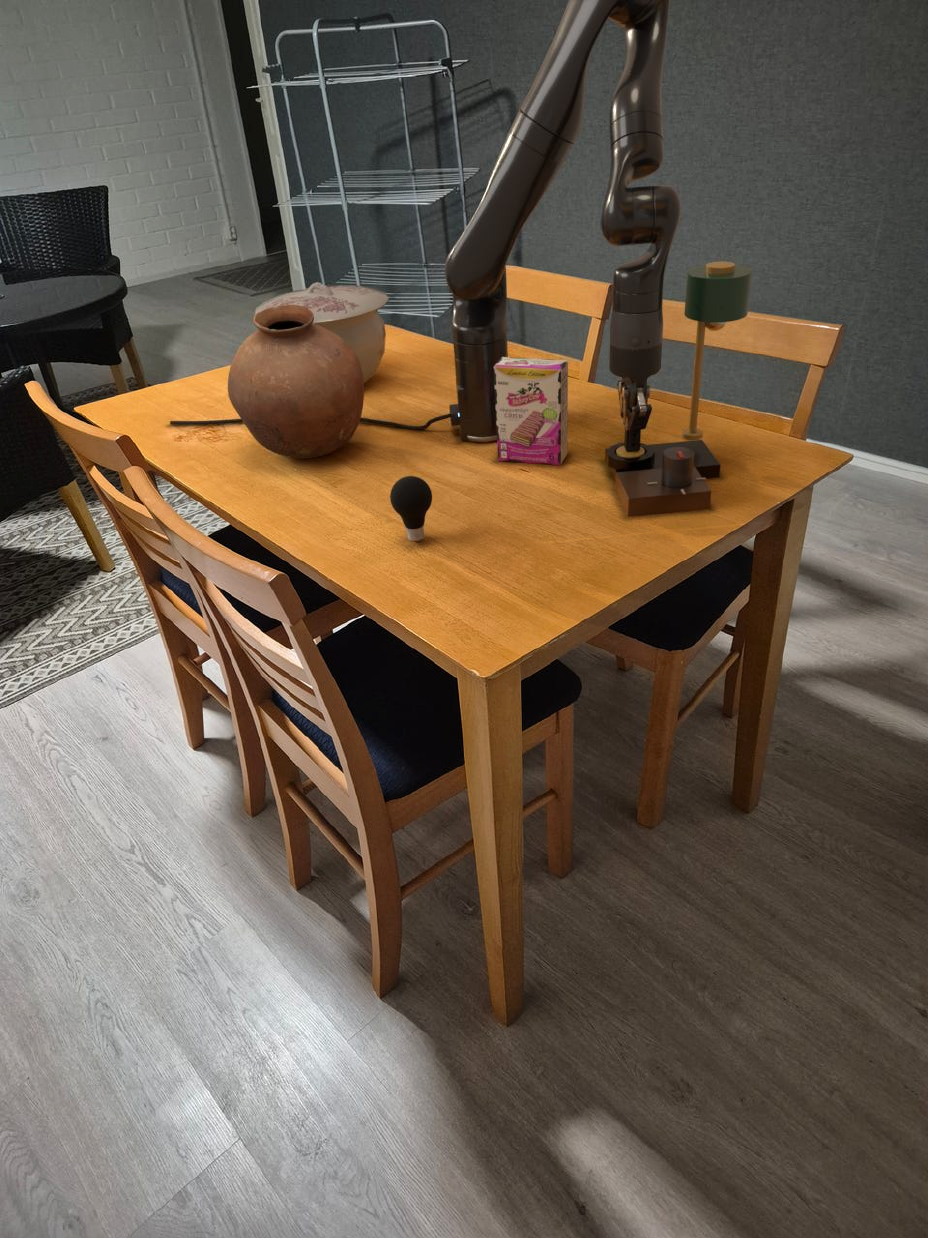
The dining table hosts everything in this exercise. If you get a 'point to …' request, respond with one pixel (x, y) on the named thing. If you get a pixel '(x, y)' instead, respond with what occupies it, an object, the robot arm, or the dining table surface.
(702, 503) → the dimmer panel
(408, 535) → the light bulb
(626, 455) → the button
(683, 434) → the desk lamp
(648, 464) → the lamp base
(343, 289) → the chamber pot
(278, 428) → the pottery
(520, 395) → the candy bar box
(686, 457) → the dimmer knob
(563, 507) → the dining table surface
